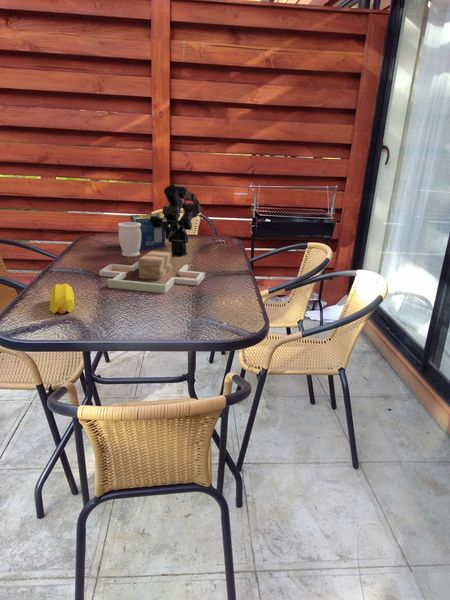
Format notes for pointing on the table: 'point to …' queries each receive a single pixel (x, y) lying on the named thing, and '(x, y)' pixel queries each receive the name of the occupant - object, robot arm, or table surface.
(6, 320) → the table surface
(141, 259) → the oak block
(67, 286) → the yellow arch block
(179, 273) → the white flat frame
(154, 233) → the protein box
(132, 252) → the jar
